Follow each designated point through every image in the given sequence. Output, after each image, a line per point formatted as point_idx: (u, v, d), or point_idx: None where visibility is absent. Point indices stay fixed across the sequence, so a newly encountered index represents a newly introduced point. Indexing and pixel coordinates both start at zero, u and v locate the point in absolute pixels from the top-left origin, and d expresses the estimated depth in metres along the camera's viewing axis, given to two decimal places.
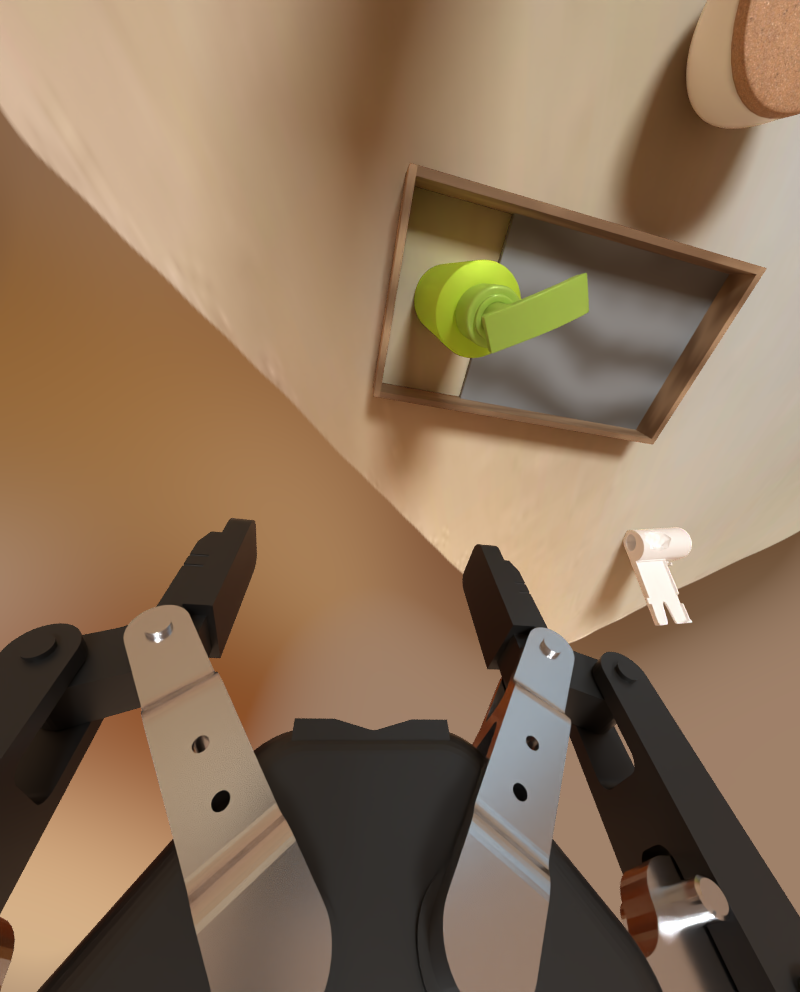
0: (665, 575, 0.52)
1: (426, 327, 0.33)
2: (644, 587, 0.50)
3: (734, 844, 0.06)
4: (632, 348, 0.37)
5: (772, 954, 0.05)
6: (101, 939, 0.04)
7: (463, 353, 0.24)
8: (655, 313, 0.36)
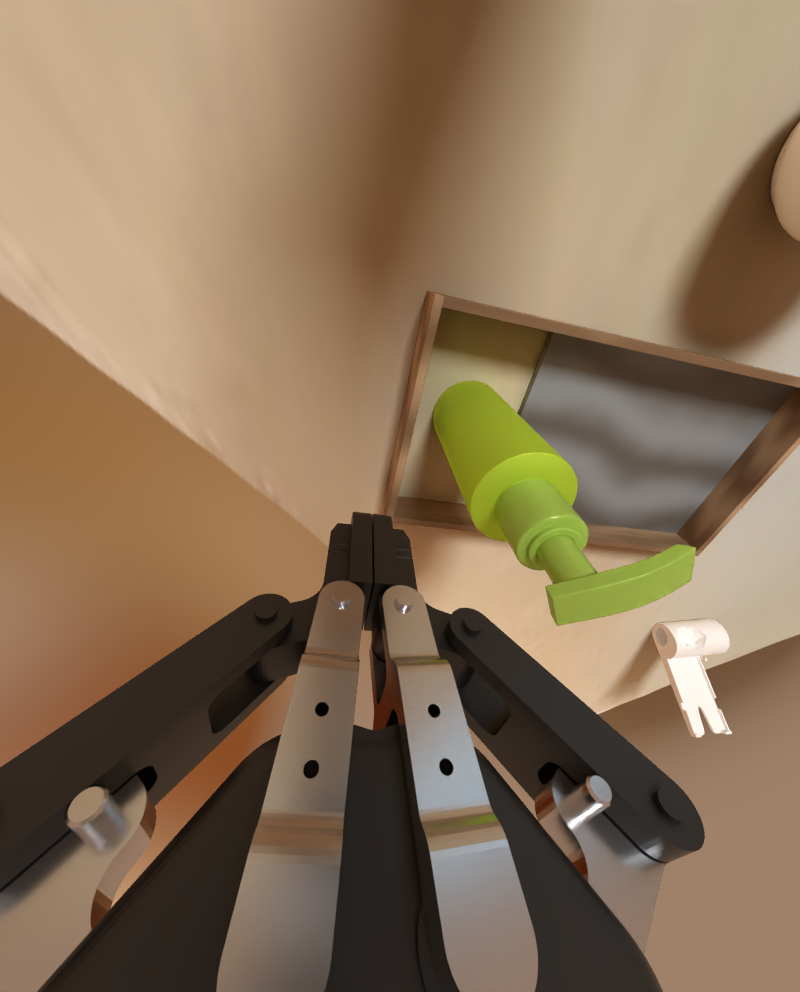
0: (699, 674, 0.48)
1: None
2: (677, 690, 0.46)
3: (588, 725, 0.07)
4: (679, 458, 0.33)
5: (639, 797, 0.06)
6: (100, 939, 0.04)
7: (502, 539, 0.20)
8: (709, 425, 0.31)
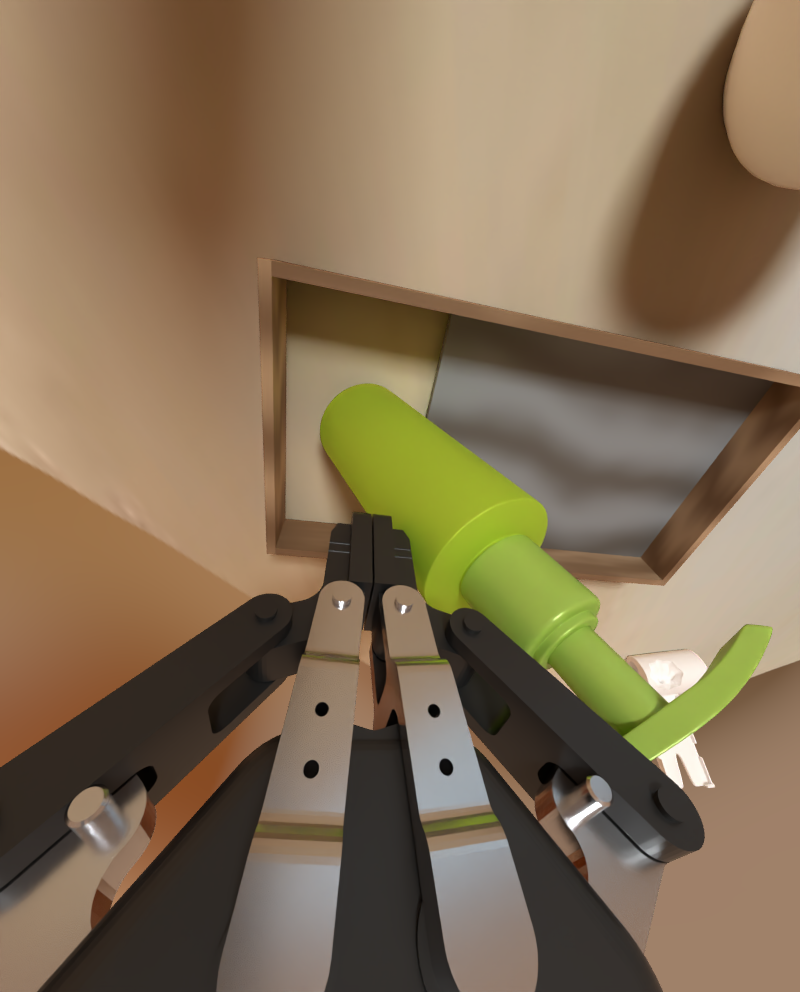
0: None
1: None
2: None
3: (588, 724, 0.07)
4: (635, 470, 0.27)
5: (639, 797, 0.06)
6: (100, 939, 0.04)
7: None
8: (668, 429, 0.25)
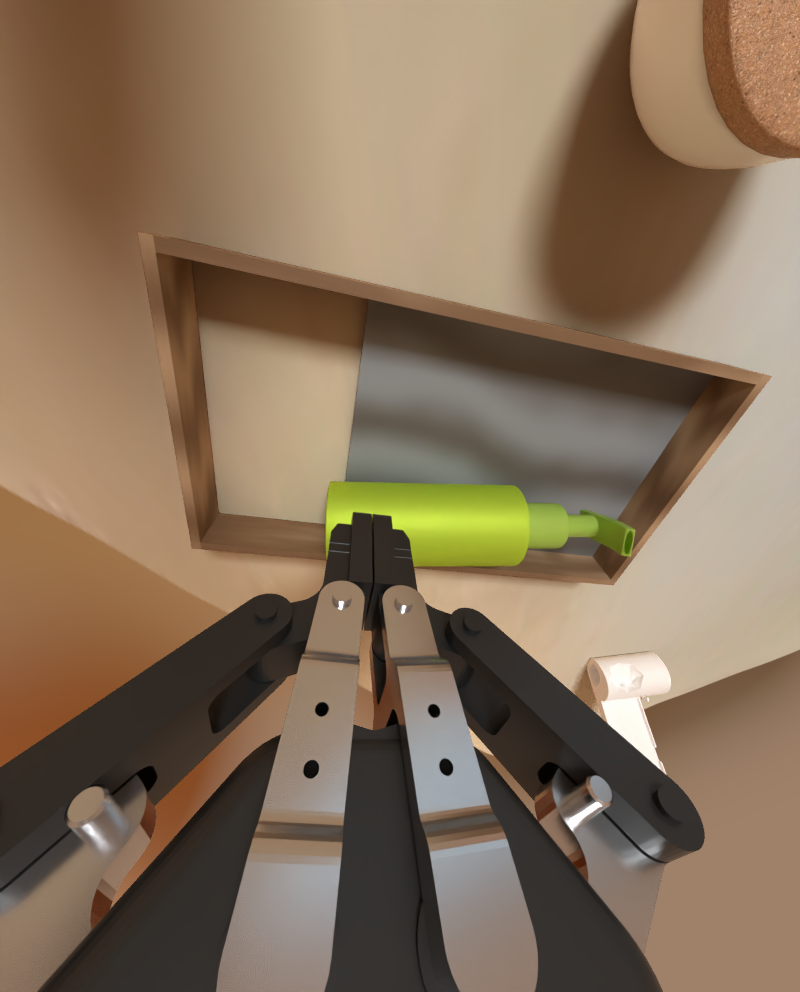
0: (639, 718, 0.41)
1: None
2: None
3: (588, 725, 0.07)
4: (577, 466, 0.26)
5: (639, 797, 0.06)
6: (100, 940, 0.04)
7: None
8: (608, 424, 0.24)
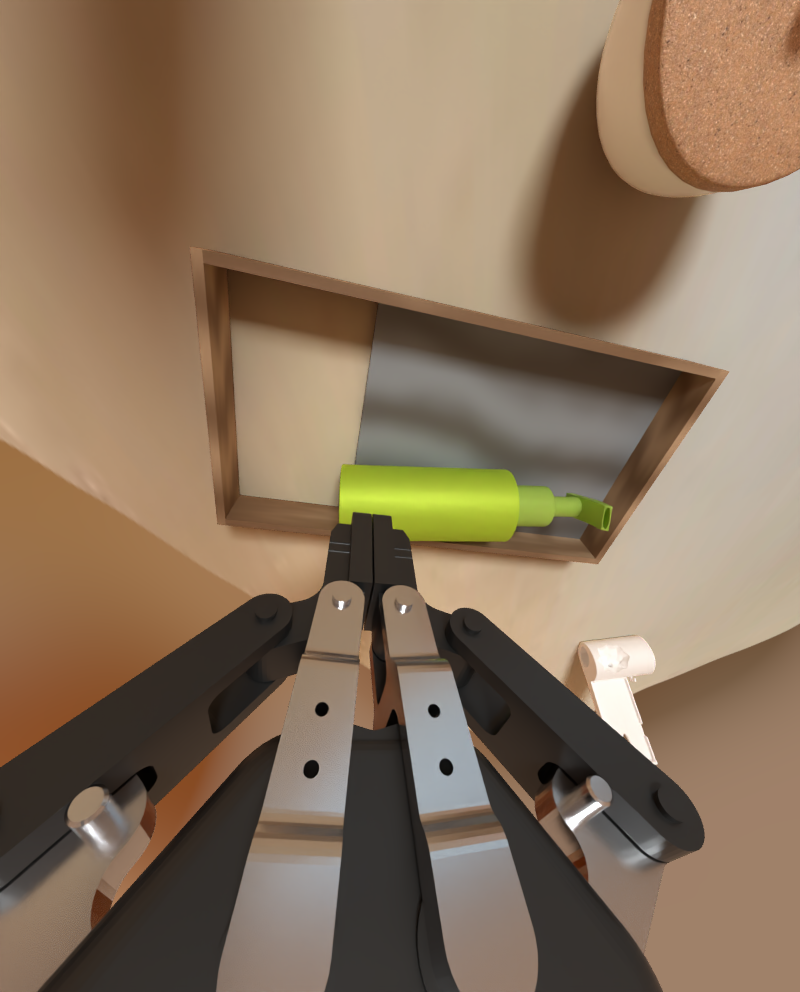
0: (627, 697, 0.44)
1: None
2: (600, 715, 0.43)
3: (588, 725, 0.07)
4: (563, 453, 0.29)
5: (639, 797, 0.06)
6: (101, 940, 0.04)
7: None
8: (589, 415, 0.27)
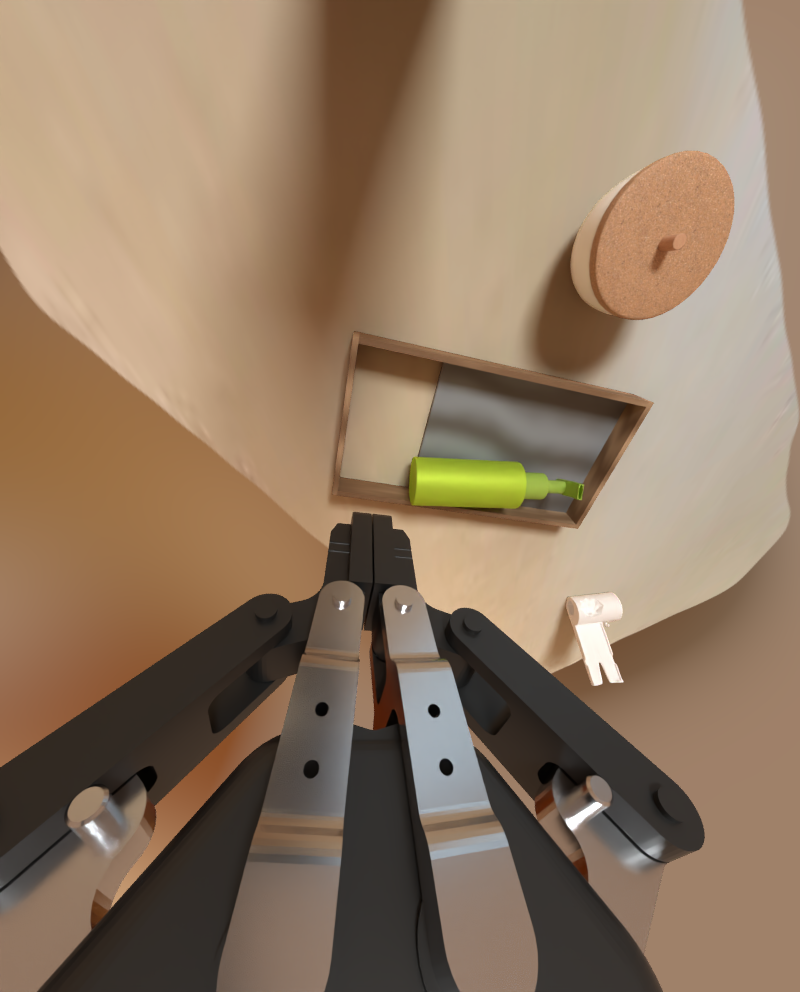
0: (602, 637, 0.58)
1: None
2: (582, 649, 0.57)
3: (588, 724, 0.07)
4: (554, 452, 0.44)
5: (639, 797, 0.06)
6: (101, 940, 0.04)
7: None
8: (571, 427, 0.42)
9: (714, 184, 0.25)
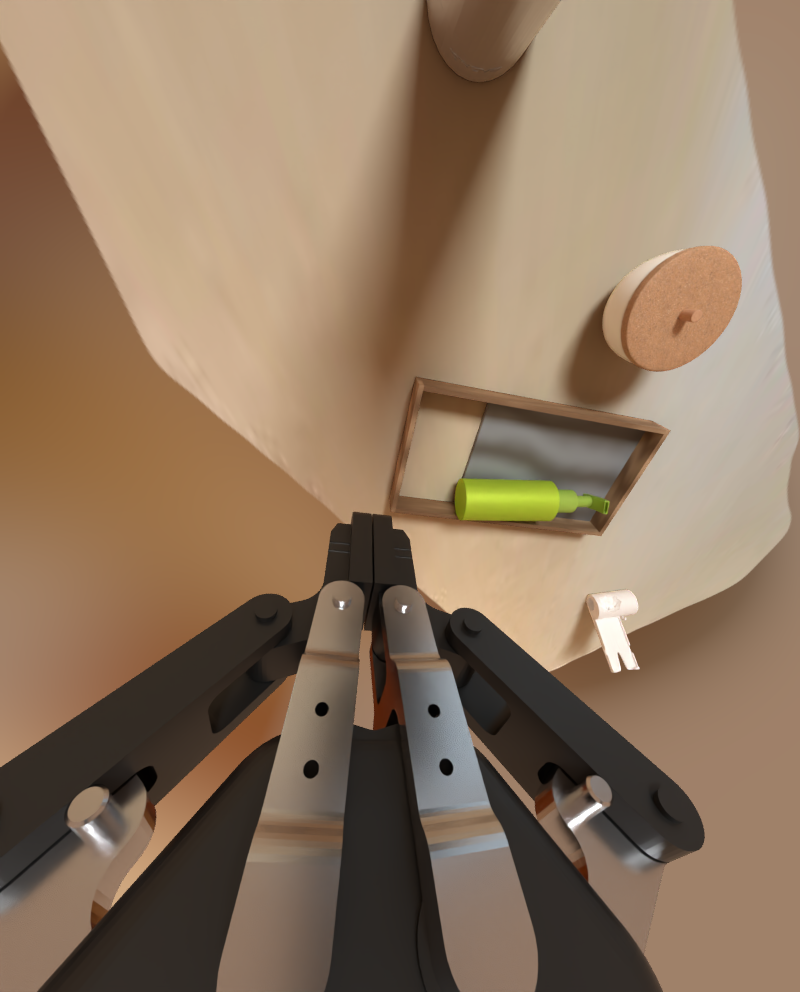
0: (619, 629, 0.66)
1: None
2: (602, 641, 0.65)
3: (588, 725, 0.07)
4: (581, 470, 0.50)
5: (639, 797, 0.06)
6: (100, 939, 0.04)
7: None
8: (597, 450, 0.49)
9: (725, 270, 0.31)
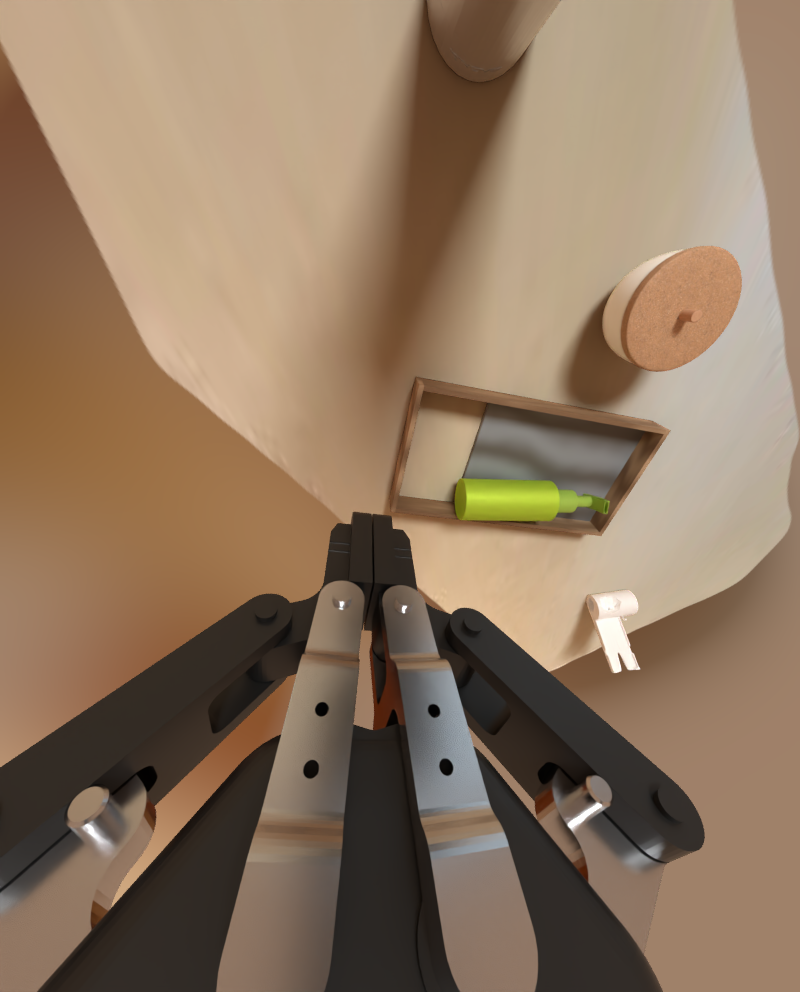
0: (620, 630, 0.66)
1: None
2: (602, 641, 0.65)
3: (588, 725, 0.07)
4: (582, 470, 0.50)
5: (639, 797, 0.06)
6: (100, 940, 0.04)
7: None
8: (597, 450, 0.49)
9: (725, 270, 0.31)
